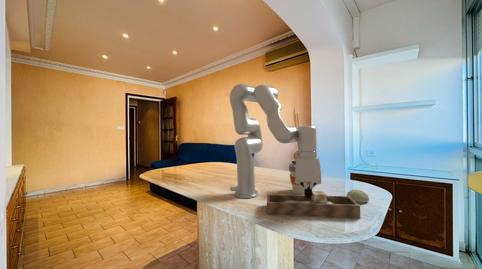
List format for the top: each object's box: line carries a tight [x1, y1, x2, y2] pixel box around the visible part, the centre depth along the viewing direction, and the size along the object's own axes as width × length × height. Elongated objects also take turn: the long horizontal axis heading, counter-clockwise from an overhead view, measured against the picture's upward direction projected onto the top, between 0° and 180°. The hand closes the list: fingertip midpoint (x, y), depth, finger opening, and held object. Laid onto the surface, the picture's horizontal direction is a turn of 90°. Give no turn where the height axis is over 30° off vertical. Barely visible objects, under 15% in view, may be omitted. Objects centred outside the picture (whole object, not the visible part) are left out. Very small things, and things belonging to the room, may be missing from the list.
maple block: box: [312, 190, 328, 204], centre depth 84 cm, size 5×5×5 cm
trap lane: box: [266, 193, 361, 219], centre depth 85 cm, size 36×11×5 cm, turn 81°
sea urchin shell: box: [346, 189, 370, 204], centre depth 96 cm, size 9×8×8 cm
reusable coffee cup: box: [288, 162, 309, 195], centre depth 112 cm, size 13×13×15 cm
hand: (308, 197), depth 85 cm, fingers closed
